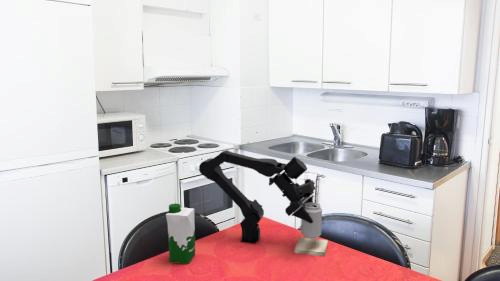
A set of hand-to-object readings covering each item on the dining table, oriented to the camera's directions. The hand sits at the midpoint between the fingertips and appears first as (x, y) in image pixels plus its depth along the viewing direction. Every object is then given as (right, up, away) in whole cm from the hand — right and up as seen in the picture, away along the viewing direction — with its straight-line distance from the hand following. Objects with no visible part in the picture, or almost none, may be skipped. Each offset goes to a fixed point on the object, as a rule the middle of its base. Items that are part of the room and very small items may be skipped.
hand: (315, 219), depth 149 cm
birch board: (-1, -12, +3) cm, 12 cm away
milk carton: (-48, -14, -4) cm, 51 cm away
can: (-1, -7, +2) cm, 7 cm away
